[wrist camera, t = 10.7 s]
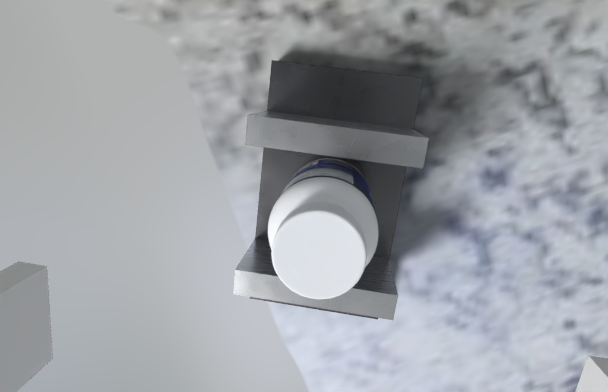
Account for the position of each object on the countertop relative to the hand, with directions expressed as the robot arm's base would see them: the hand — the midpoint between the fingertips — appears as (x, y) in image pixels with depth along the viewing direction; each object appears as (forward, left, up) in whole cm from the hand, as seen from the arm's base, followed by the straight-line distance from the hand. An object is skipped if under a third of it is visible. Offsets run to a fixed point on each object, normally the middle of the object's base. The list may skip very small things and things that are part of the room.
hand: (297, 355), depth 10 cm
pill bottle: (0, 0, -17) cm, 17 cm away
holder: (0, 0, -18) cm, 18 cm away
